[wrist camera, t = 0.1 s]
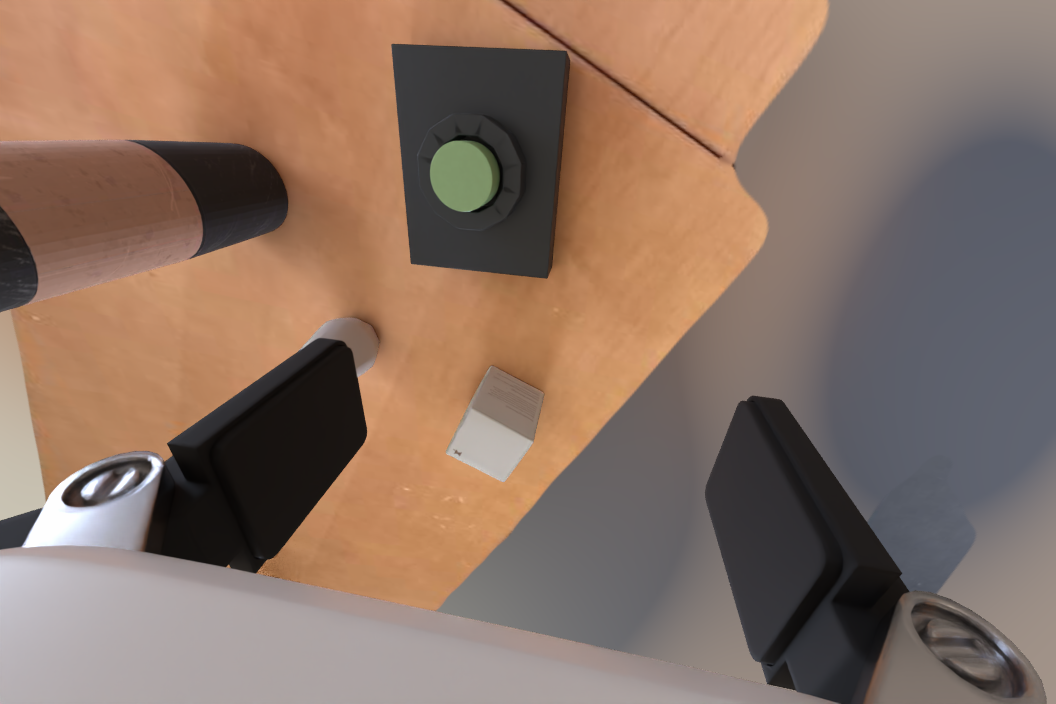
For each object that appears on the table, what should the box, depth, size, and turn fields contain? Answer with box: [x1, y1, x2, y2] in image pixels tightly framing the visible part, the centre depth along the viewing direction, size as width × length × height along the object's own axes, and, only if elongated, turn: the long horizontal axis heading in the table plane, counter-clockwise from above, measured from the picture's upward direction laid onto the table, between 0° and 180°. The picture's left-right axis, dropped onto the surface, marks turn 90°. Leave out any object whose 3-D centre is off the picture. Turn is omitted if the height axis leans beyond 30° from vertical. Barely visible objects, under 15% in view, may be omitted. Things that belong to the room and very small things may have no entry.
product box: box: [446, 366, 544, 482], centre depth 37 cm, size 6×6×7 cm
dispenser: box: [392, 44, 570, 279], centre depth 28 cm, size 14×11×5 cm
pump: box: [430, 141, 500, 212], centre depth 25 cm, size 4×4×2 cm
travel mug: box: [0, 140, 288, 312], centre depth 25 cm, size 8×8×20 cm
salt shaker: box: [299, 318, 380, 377], centre depth 33 cm, size 6×6×13 cm
